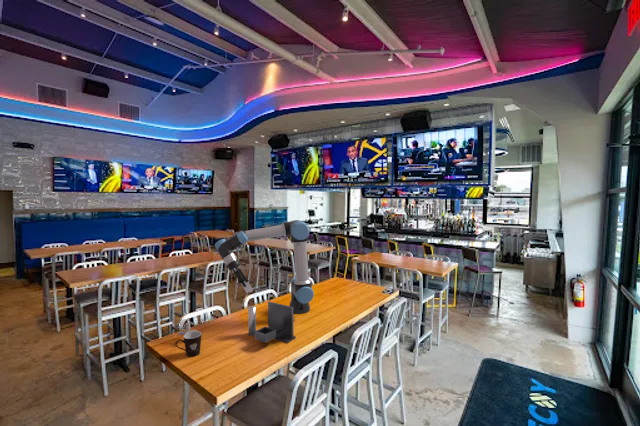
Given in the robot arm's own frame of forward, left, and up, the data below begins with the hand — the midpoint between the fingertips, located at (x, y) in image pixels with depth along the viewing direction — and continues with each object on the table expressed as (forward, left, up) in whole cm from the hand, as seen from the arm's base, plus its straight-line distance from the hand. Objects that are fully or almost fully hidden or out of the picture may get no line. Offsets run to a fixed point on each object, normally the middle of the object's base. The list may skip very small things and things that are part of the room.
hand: (250, 291), depth 186 cm
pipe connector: (+30, -19, -24) cm, 42 cm away
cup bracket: (+4, +21, -23) cm, 32 cm away
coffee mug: (+38, -5, -24) cm, 45 cm away
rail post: (+4, +5, -23) cm, 24 cm away
